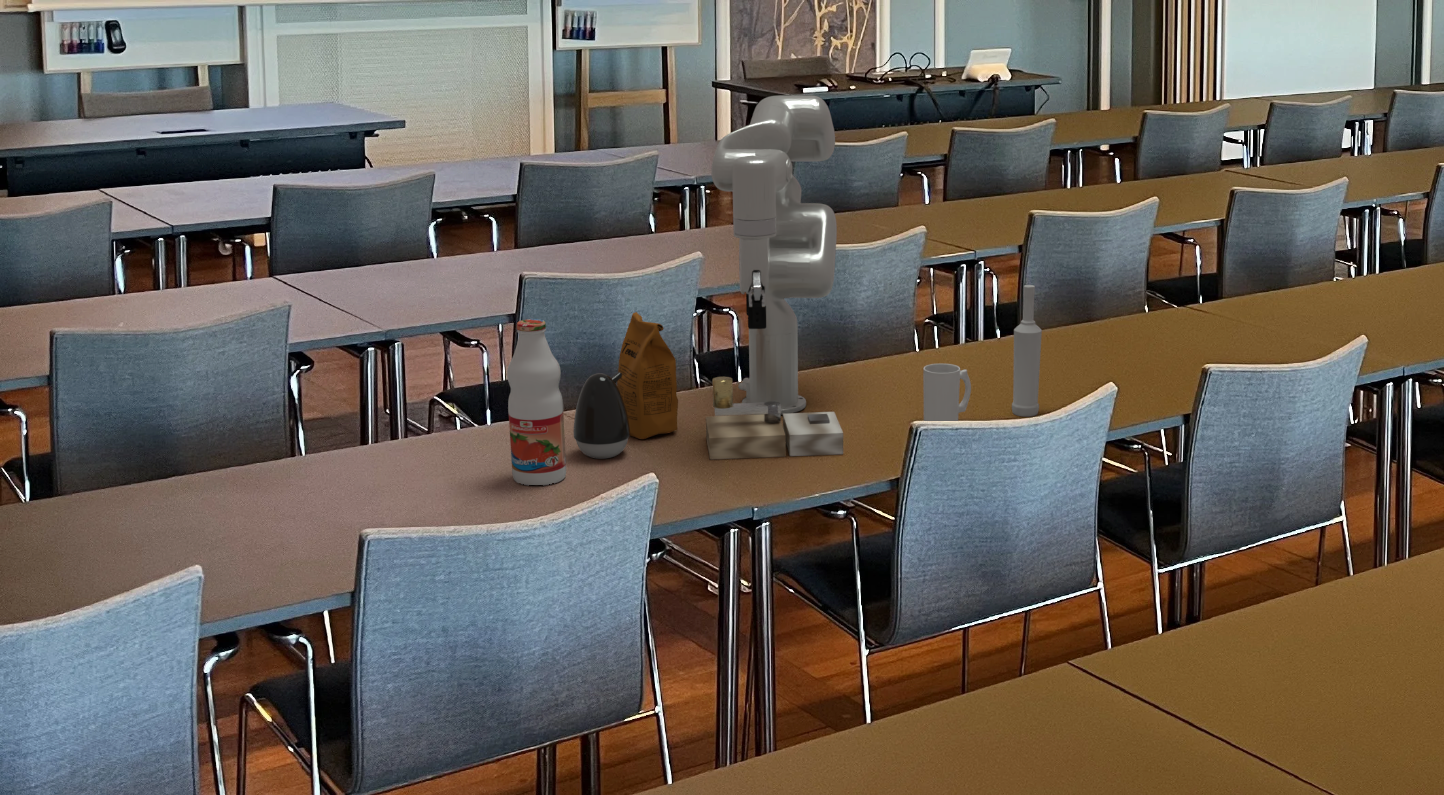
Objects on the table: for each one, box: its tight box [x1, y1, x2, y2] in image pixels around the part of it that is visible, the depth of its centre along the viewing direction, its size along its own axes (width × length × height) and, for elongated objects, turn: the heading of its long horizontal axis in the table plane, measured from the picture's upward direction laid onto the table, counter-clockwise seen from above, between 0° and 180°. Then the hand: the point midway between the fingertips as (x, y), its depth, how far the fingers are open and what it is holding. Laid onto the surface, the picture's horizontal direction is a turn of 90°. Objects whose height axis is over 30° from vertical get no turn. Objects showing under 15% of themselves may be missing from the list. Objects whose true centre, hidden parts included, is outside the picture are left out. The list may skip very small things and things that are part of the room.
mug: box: [922, 363, 972, 422], centre depth 310 cm, size 10×7×12 cm, turn 118°
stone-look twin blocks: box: [705, 411, 844, 460], centre depth 303 cm, size 24×13×5 cm, turn 93°
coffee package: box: [616, 311, 679, 440], centre depth 312 cm, size 10×12×22 cm
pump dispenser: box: [572, 371, 631, 460], centre depth 299 cm, size 10×10×15 cm
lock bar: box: [712, 376, 782, 423], centre depth 303 cm, size 12×4×8 cm, turn 93°
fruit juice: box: [506, 318, 567, 486], centre depth 285 cm, size 9×9×28 cm
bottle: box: [1011, 284, 1043, 417], centre depth 316 cm, size 5×5×25 cm
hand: (756, 321), depth 297 cm, fingers open, 9 cm apart
